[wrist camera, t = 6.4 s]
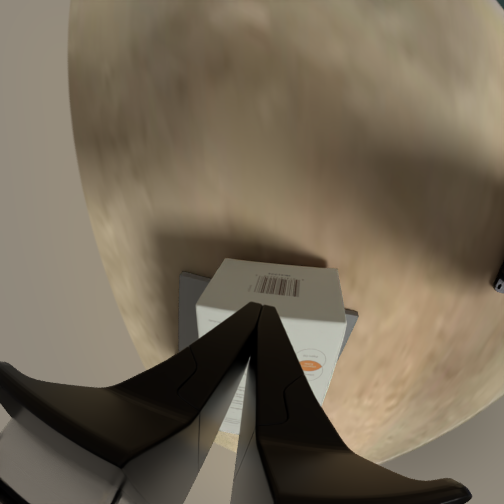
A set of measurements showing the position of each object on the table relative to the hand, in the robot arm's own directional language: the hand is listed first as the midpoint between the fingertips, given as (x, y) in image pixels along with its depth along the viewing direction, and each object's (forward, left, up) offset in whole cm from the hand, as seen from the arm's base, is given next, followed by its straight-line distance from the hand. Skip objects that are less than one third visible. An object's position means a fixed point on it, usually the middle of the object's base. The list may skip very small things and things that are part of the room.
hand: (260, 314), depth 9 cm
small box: (0, +3, -7) cm, 7 cm away
